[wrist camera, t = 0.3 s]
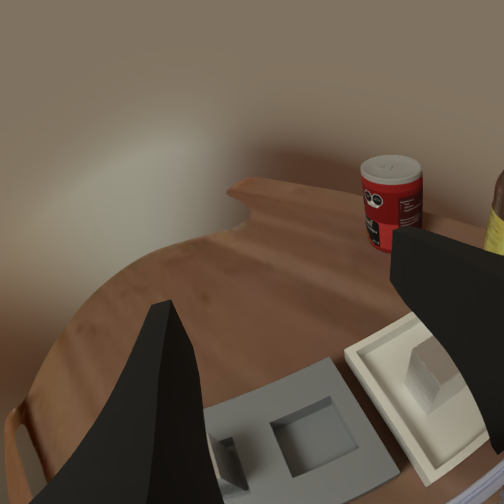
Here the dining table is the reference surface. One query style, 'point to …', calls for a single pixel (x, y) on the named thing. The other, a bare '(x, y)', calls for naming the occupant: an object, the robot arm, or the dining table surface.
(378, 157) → the canned food
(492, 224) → the sauce bottle
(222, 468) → the block
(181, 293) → the dining table surface
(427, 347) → the steel block
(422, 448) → the tray
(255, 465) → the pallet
